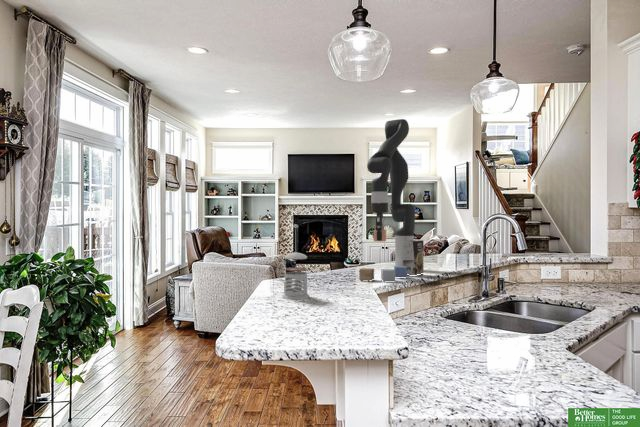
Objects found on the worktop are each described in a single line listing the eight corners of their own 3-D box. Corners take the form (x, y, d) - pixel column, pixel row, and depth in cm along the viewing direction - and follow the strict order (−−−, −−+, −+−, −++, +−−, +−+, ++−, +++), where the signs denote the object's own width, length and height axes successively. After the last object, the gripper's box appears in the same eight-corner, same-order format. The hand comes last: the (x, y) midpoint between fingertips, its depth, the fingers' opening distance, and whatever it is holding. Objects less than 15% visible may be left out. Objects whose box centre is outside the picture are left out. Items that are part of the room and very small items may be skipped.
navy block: (394, 277, 202) (393, 266, 202) (405, 277, 201) (405, 266, 201) (395, 278, 197) (395, 267, 197) (406, 278, 196) (406, 267, 196)
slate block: (381, 280, 192) (381, 268, 192) (392, 280, 192) (392, 268, 192) (383, 282, 187) (383, 270, 187) (395, 282, 187) (395, 270, 187)
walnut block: (362, 279, 195) (362, 268, 195) (373, 280, 193) (373, 268, 193) (359, 281, 190) (359, 269, 190) (370, 281, 188) (370, 270, 188)
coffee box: (415, 277, 201) (415, 241, 201) (402, 276, 205) (402, 240, 205) (424, 274, 208) (424, 240, 208) (411, 273, 212) (411, 239, 212)
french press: (306, 299, 149) (306, 224, 149) (273, 298, 151) (272, 224, 151) (312, 294, 159) (312, 224, 159) (281, 293, 161) (281, 223, 161)
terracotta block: (375, 240, 204) (374, 229, 204) (386, 240, 203) (386, 229, 203) (373, 241, 199) (373, 230, 199) (385, 241, 198) (385, 230, 198)
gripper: (373, 202, 209) (373, 238, 209) (369, 202, 195) (369, 241, 195) (389, 202, 207) (389, 239, 207) (386, 201, 193) (387, 241, 193)
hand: (380, 239), depth 201 cm, fingers closed on terracotta block, 5 cm apart
